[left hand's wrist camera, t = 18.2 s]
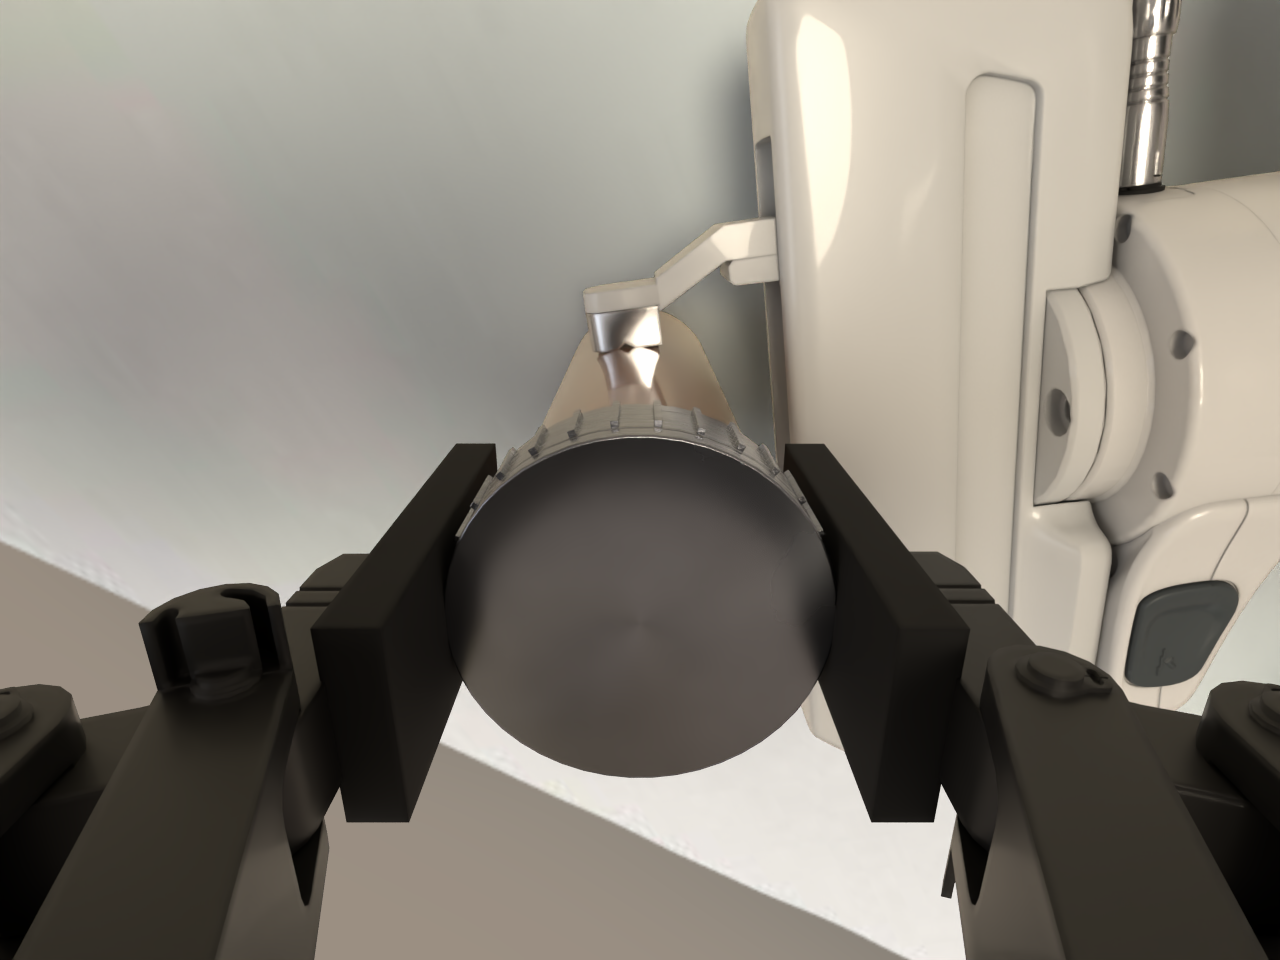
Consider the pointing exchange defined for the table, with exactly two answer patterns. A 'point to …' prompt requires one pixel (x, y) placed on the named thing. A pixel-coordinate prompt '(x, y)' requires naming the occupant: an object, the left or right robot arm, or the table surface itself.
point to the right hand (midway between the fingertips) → (606, 438)
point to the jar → (642, 377)
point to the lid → (640, 592)
